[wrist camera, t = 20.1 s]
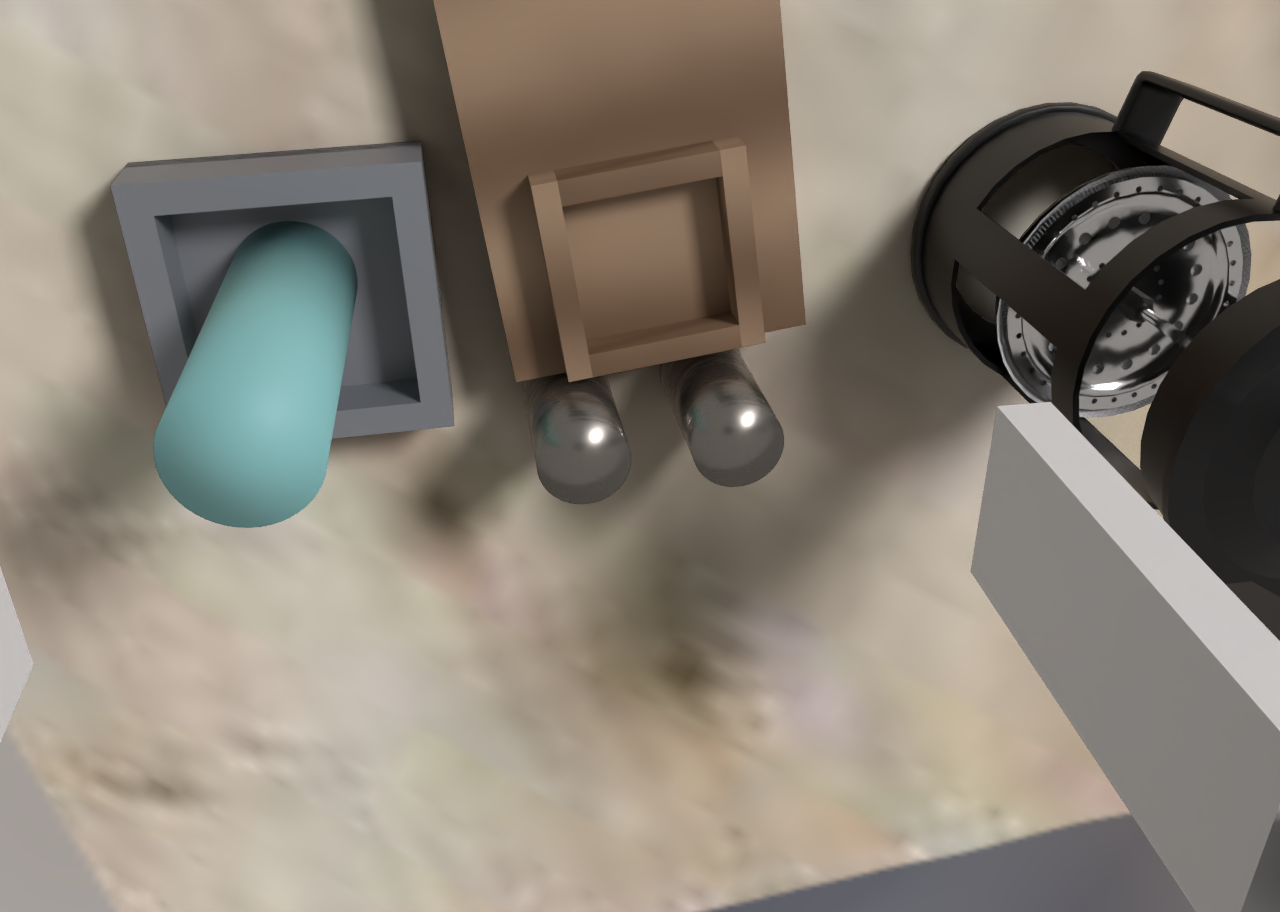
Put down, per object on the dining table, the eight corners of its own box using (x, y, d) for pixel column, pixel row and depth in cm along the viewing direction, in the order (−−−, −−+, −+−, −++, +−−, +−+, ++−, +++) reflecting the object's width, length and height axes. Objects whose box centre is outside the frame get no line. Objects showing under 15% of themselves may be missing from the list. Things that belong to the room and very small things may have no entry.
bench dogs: (519, 348, 42) (533, 425, 37) (741, 327, 43) (785, 399, 38) (526, 424, 44) (540, 508, 39) (740, 401, 45) (782, 481, 40)
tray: (128, 163, 37) (110, 185, 35) (421, 140, 38) (421, 161, 36) (191, 420, 42) (178, 454, 40) (452, 394, 43) (454, 426, 41)
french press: (1078, 391, 47) (1561, 830, 27) (863, 339, 44) (1223, 783, 25) (1228, 94, 42) (1952, 364, 22) (996, 17, 40) (1582, 245, 20)
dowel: (225, 219, 38) (143, 381, 28) (355, 221, 39) (322, 380, 28) (236, 336, 40) (164, 528, 30) (360, 337, 41) (331, 525, 30)
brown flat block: (402, -152, 35) (400, -145, 31) (737, -208, 36) (774, -208, 32) (510, 346, 43) (518, 397, 39) (782, 292, 44) (815, 338, 40)
